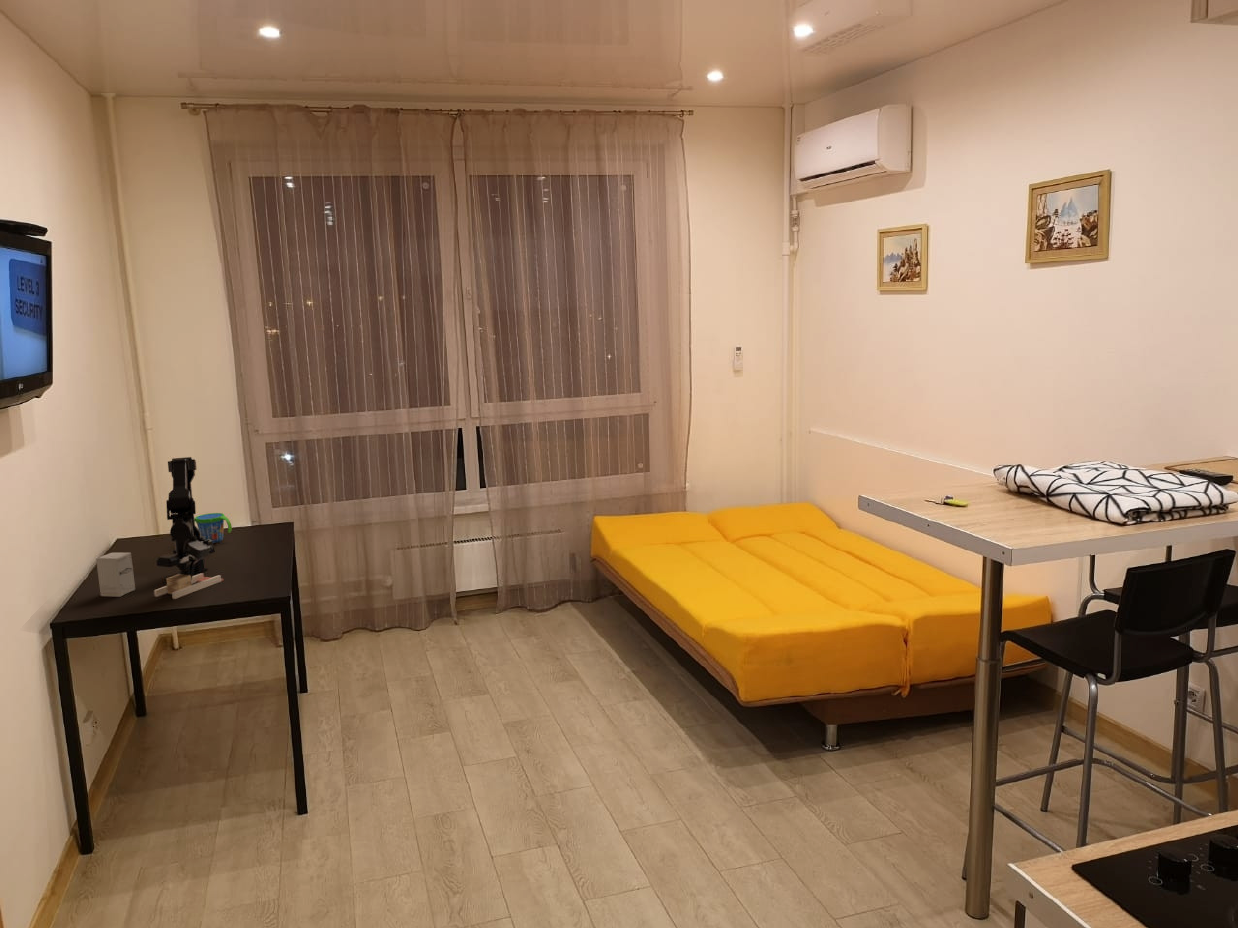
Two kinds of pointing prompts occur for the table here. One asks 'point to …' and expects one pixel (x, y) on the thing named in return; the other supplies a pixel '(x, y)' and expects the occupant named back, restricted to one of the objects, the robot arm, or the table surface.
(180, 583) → the pine block
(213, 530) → the snack cup
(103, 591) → the supplement box
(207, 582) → the channel
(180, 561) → the robot arm
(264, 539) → the table surface
